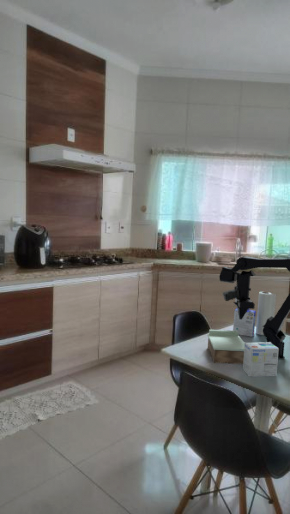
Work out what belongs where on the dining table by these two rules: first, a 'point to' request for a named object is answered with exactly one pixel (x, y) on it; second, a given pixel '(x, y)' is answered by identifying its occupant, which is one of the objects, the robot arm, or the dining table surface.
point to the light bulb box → (260, 359)
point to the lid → (226, 340)
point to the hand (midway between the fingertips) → (240, 319)
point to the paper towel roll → (265, 310)
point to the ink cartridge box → (245, 323)
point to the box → (226, 355)
